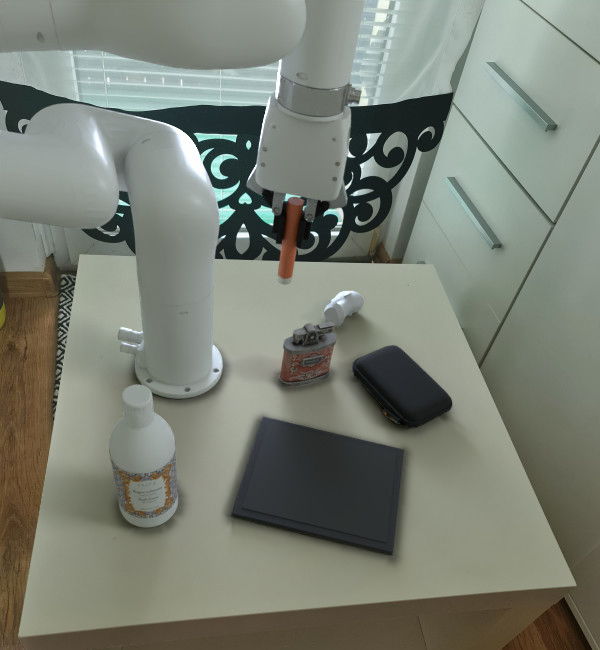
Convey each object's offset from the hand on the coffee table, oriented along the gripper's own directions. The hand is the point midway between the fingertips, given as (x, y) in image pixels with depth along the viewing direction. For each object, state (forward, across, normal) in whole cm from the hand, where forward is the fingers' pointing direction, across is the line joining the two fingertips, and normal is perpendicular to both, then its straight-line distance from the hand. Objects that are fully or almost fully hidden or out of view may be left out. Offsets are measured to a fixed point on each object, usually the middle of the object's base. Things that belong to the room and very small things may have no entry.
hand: (290, 239), depth 79 cm
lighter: (+21, -5, +3) cm, 22 cm away
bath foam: (+22, +10, +29) cm, 38 cm away
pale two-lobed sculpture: (+21, -9, -13) cm, 26 cm away
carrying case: (+21, -19, +3) cm, 29 cm away
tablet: (+21, -10, +21) cm, 32 cm away
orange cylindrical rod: (+7, 0, 0) cm, 7 cm away
